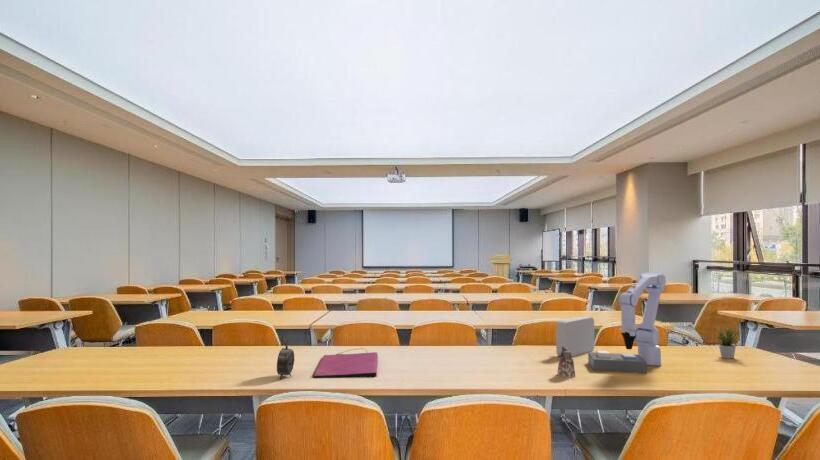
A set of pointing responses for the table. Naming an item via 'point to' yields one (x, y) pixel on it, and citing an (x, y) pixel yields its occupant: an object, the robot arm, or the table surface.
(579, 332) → the rounded white slab
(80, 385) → the table surface
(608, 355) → the ivory key
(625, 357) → the slate blue key
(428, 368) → the table surface
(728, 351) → the house plant
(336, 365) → the laptop bag
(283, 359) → the alarm clock
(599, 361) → the key deck
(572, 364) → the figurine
